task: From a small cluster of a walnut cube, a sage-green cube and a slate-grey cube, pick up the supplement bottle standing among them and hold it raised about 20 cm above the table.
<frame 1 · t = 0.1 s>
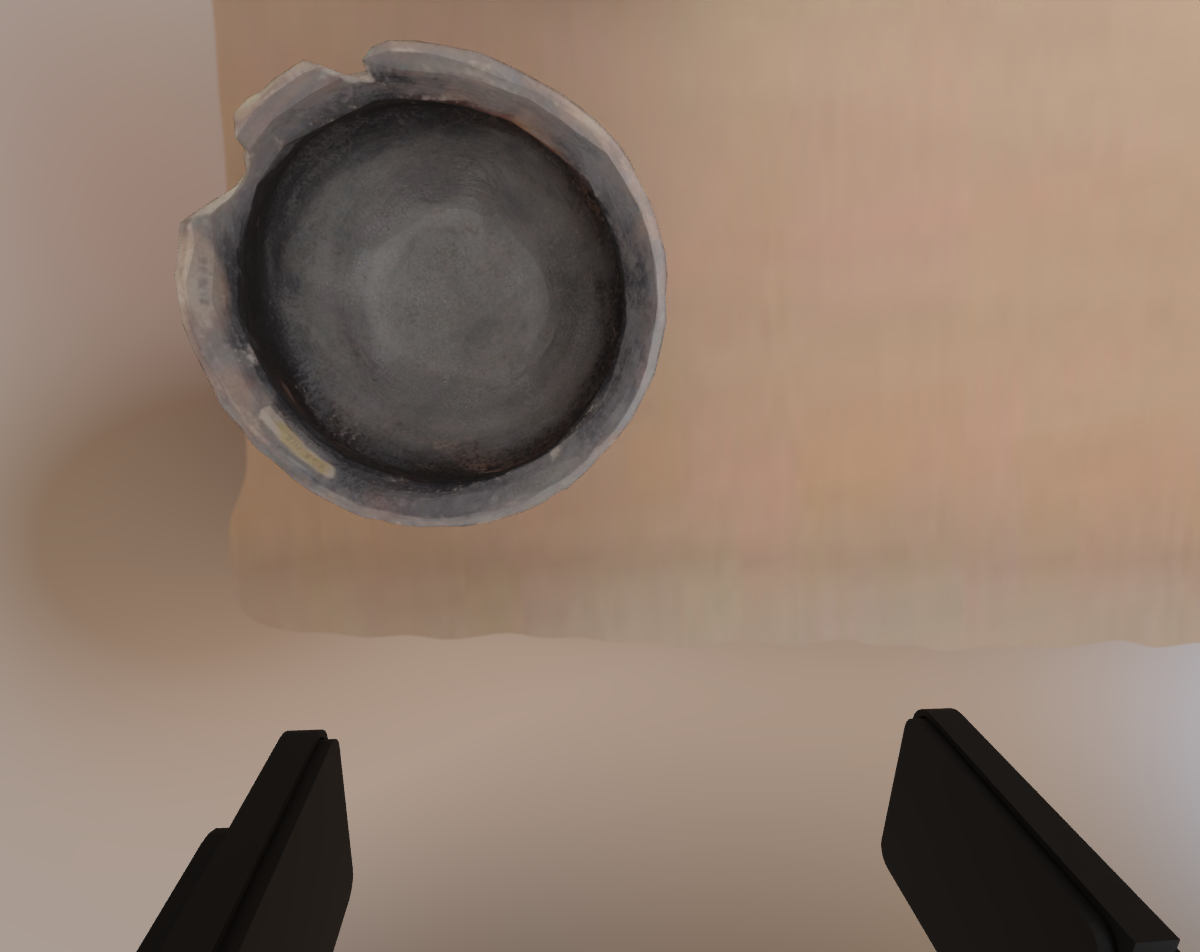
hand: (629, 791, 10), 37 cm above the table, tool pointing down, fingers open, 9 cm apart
ceramic bowl: (467, 298, 43), on the table
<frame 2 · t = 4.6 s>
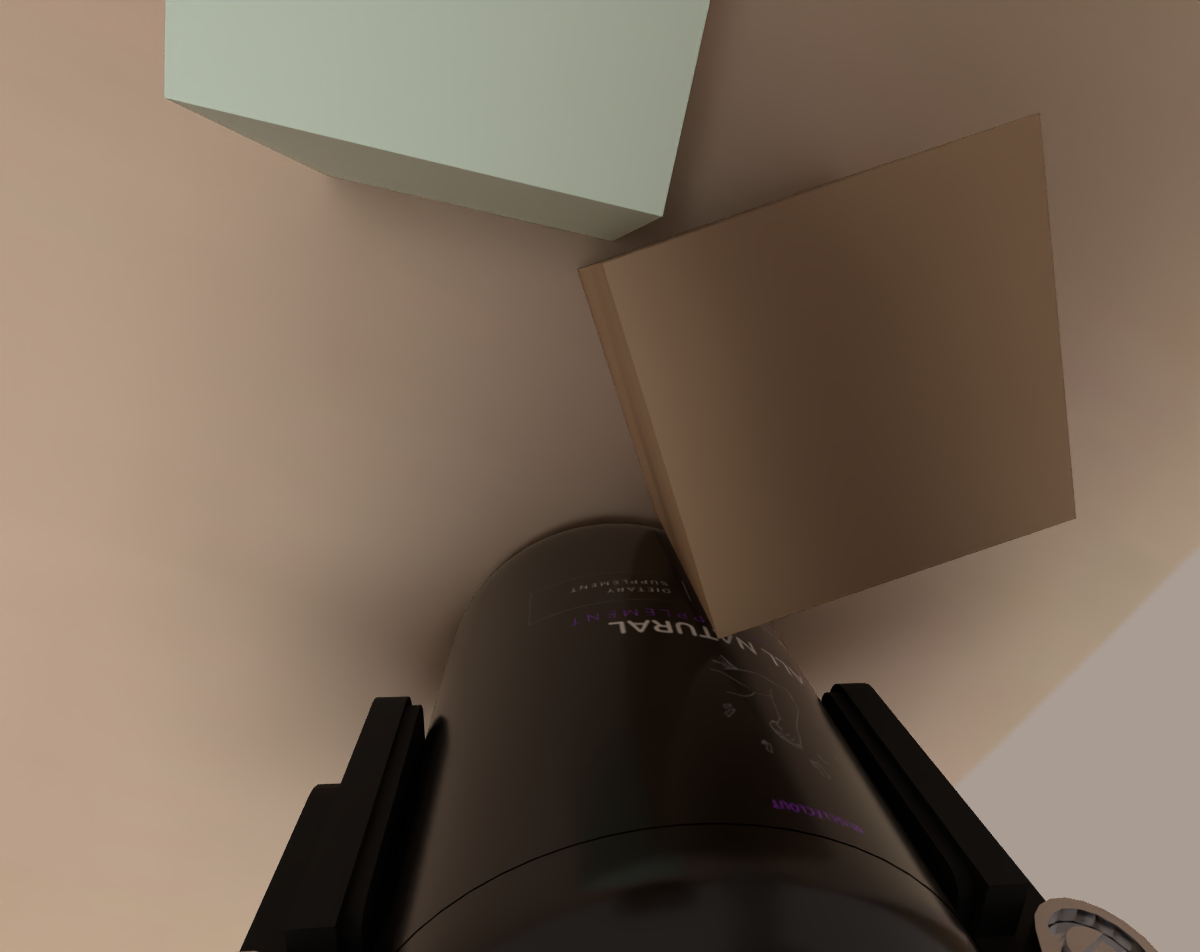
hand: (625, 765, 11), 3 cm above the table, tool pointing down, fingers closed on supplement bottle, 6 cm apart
supplement bottle: (604, 650, 14), on the table, touching gripper
walnut cube: (738, 355, 12), on the table
sage cube: (497, 51, 11), on the table
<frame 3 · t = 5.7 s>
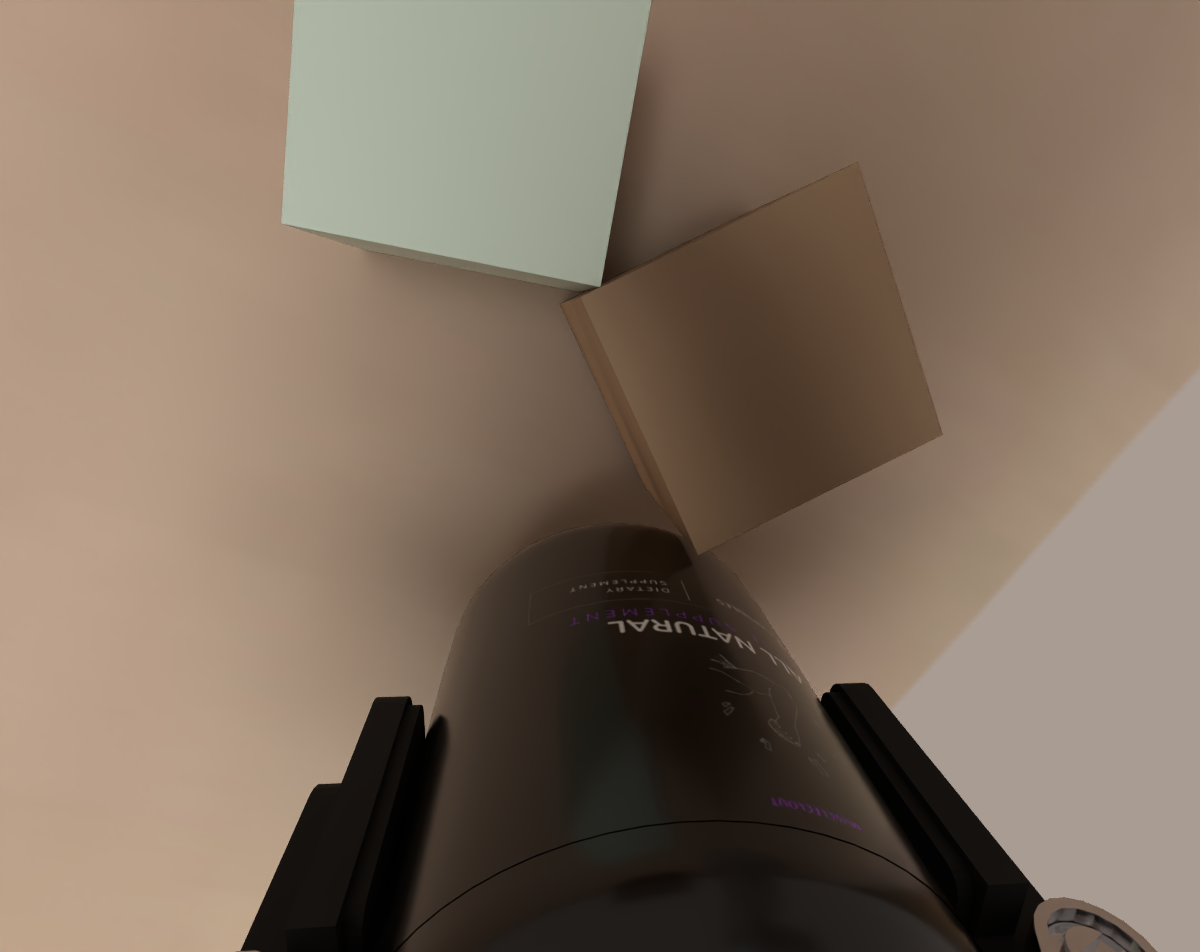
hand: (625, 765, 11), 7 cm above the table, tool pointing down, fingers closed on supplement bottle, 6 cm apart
supplement bottle: (603, 650, 14), point 3 cm above the table, touching gripper
walnut cube: (694, 354, 16), on the table
sage cube: (488, 156, 14), on the table
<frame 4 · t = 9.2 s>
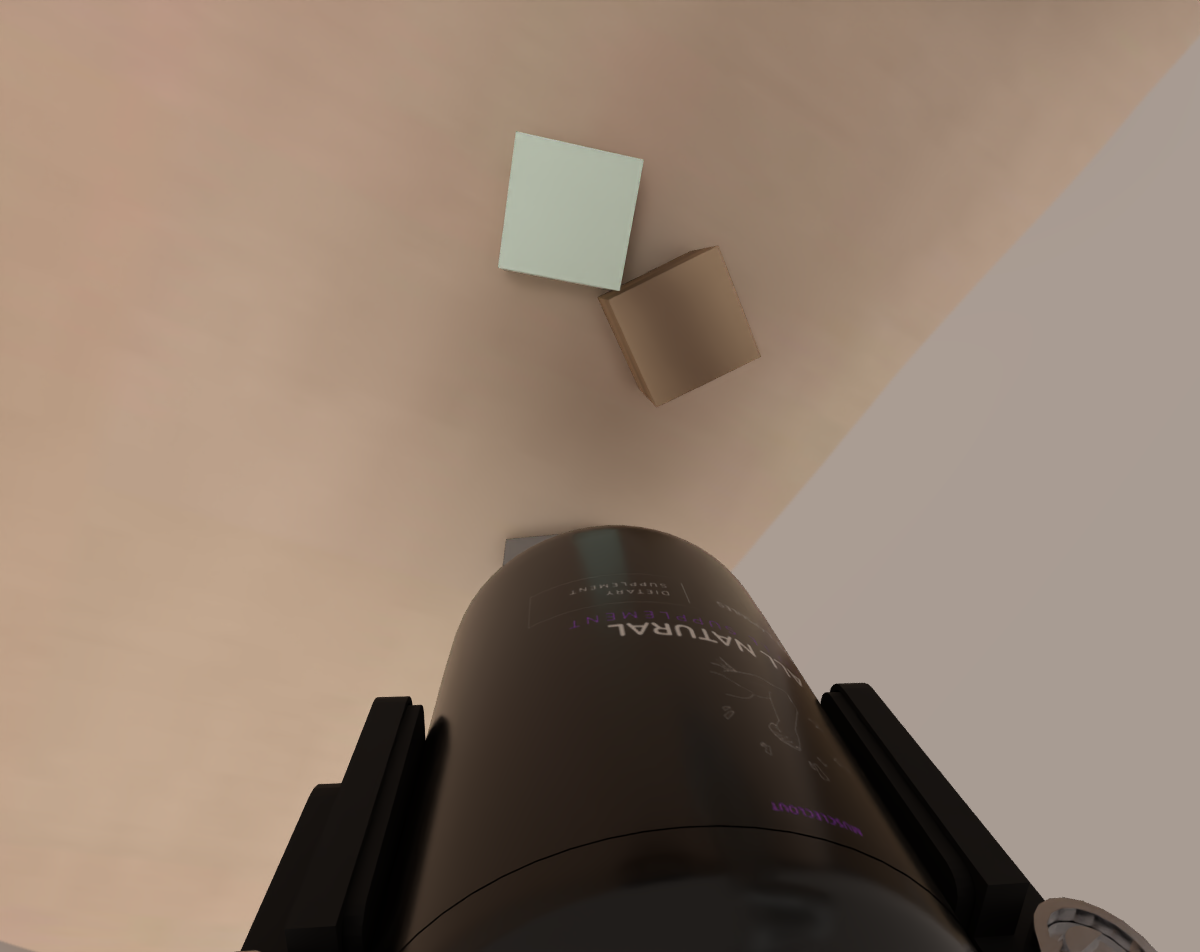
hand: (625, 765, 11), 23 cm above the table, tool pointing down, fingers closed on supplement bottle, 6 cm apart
slate cube: (556, 576, 35), on the table
supplement bottle: (603, 652, 14), point 20 cm above the table, touching gripper
walnut cube: (664, 322, 32), on the table
sage cube: (564, 225, 30), on the table
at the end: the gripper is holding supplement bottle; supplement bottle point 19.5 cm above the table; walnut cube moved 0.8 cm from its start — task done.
